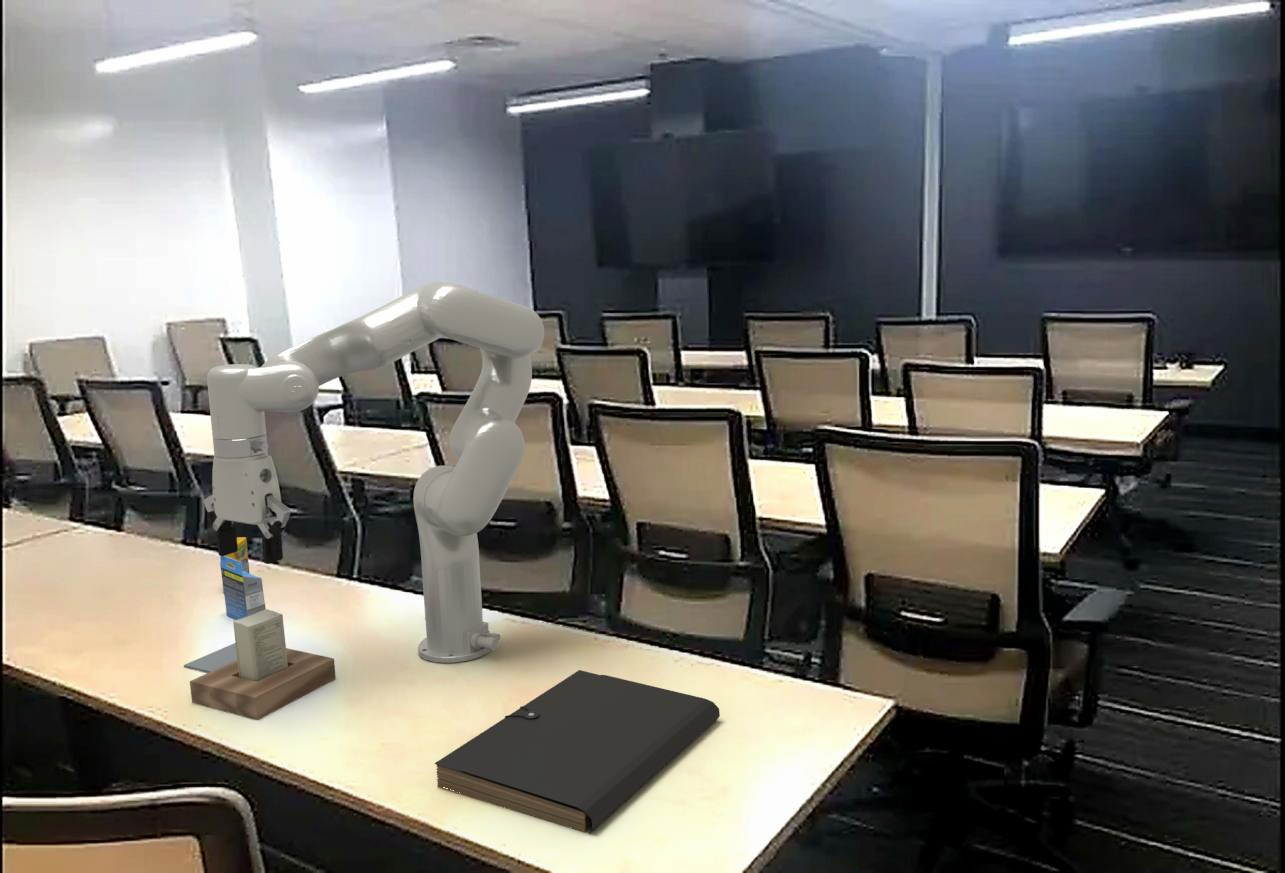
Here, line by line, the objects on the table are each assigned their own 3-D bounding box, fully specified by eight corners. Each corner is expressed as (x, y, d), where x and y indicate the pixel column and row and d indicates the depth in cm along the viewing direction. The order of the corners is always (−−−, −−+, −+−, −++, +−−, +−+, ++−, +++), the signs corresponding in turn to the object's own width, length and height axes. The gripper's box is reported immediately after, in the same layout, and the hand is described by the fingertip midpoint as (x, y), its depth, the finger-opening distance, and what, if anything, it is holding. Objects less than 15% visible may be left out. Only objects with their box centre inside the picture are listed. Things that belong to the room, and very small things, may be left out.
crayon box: (237, 593, 213) (232, 538, 211) (223, 594, 213) (217, 538, 211) (251, 582, 220) (245, 528, 218) (237, 582, 220) (231, 528, 218)
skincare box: (274, 680, 170) (267, 608, 168) (291, 686, 167) (284, 613, 165) (239, 694, 165) (231, 620, 163) (256, 701, 162) (248, 625, 160)
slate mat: (291, 653, 181) (291, 650, 181) (234, 679, 171) (234, 677, 171) (241, 642, 187) (241, 640, 187) (184, 667, 176) (183, 664, 176)
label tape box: (268, 620, 197) (261, 557, 195) (247, 627, 194) (240, 562, 192) (244, 610, 203) (238, 548, 201) (224, 616, 200) (217, 553, 198)
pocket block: (335, 679, 170) (334, 658, 169) (257, 719, 156) (254, 697, 155) (272, 664, 176) (270, 644, 176) (192, 702, 163) (189, 681, 162)
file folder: (578, 667, 163) (719, 700, 151) (578, 692, 164) (719, 727, 151) (432, 760, 135) (592, 809, 123) (434, 790, 136) (593, 841, 124)
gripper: (301, 447, 158) (310, 558, 161) (220, 439, 166) (230, 544, 169) (262, 456, 152) (272, 571, 155) (180, 447, 160) (191, 557, 163)
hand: (250, 557), depth 162 cm, fingers open, 9 cm apart
